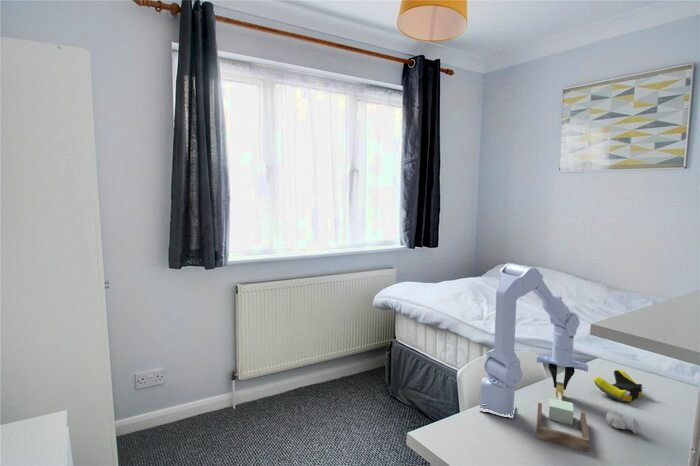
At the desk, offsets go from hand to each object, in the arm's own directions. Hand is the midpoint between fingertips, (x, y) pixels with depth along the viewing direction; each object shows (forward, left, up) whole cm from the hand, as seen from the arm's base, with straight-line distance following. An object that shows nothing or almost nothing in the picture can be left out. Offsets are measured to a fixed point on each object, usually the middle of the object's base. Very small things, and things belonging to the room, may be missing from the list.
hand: (559, 387), depth 128 cm
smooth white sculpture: (+15, -13, -3) cm, 20 cm away
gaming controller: (+18, +10, -3) cm, 21 cm away
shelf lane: (0, -22, -2) cm, 22 cm away
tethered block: (0, -8, -2) cm, 9 cm away
